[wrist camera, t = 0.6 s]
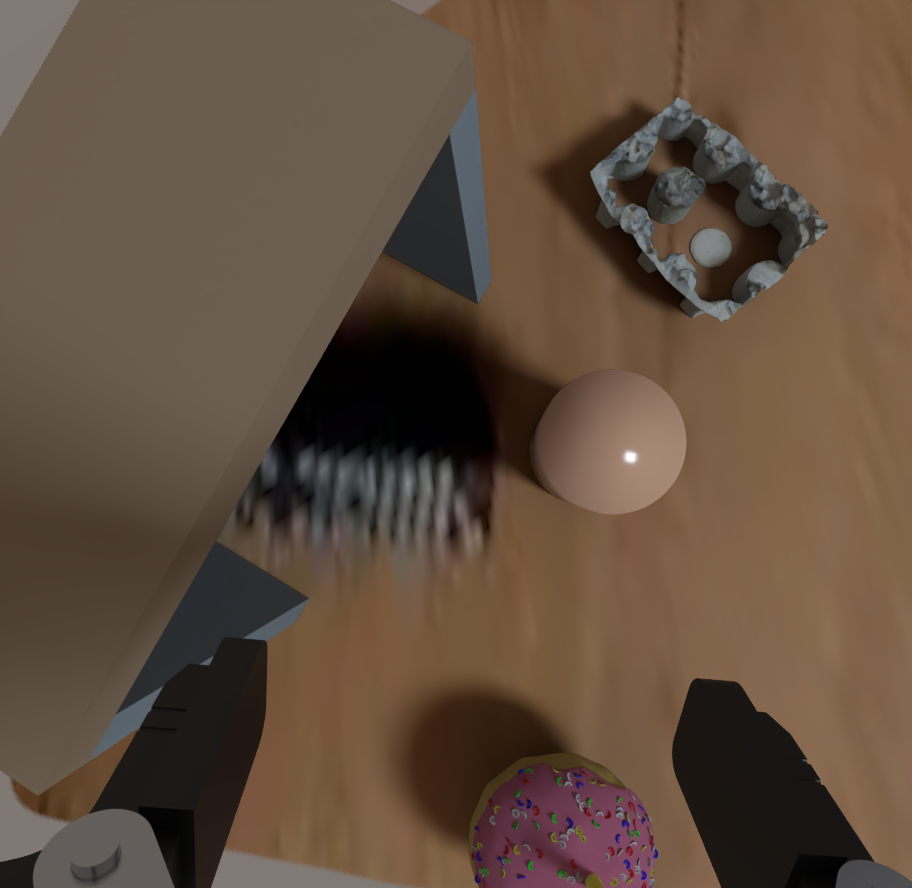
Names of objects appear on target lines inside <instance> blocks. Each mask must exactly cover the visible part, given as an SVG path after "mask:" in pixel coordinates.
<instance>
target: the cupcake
mask: <svg viewBox="0 0 912 888" xmlns="http://www.w3.org/2000/svg"><path fill="white" fill-rule="evenodd" d="M655 852H656V854H655ZM469 855H470V862H471V866H472V870H473V873H474V876H475V881H476V883H478V885H479V888H654V882H655V881H654V879H653V878H654V870H655V858H657V857H658V852H657V850H656V849H655V842H654V835H653V830H652V825H651V819H650V817H649V815H648V813H647V811H646V809H645V807H644V806H643V804H642V802H641V801H640V799H639V798H638V797H637V796H636V794H635V793H634V792H632V791H631V790H630V789H627V788H626V787H625V786H624V785H623V783H622V782H621V781H620V780H619V779H618V778H617V777H616V776H615V775H614V774H613V773H612V772H611V771H610V770H608V769H607V768H606V767H604V766H602V765H600V764H598V763H595V762H593V761H591V760H588V759H586V758H584V757H582V756H580V755H577V754H573V753H553V754H546V755H541V756H534V757H524V758H521V759H519V760H518V761H516V762H515V763H513V764H512V765H511V766H509V767H508V768H507V769H506V770H504V771H503V772H502V773H501V774H499V775H498V776H497V777H495V778H494V779H493V780H491V781H490V782H489V783H488V784H487V786H486V787H485V789H484V790H483V792H482V795H481V797H480V800H479V802H478V805H477V807H476V809H475V811H474V814H473V816H472V819H471V823H470V828H469Z"/></svg>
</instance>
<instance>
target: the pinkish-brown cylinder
mask: <svg viewBox="0 0 912 888" xmlns="http://www.w3.org/2000/svg"><path fill="white" fill-rule="evenodd" d="M685 453H686V431H685V427H684V422H683V419H682V417H681V414H680V412H679V410H678V408H677V406H676V404H675V403H674V402H673V400H672V399H671V397H670V396H669V395H668V394H667V393H666V392H665V391H664V390H663V389H662V388H661V387H660V386H658V385H657V384H656V383H654V382H653V381H651V380H650V379H648V378H646V377H644V376H642V375H640V374H637V373H633V372H630V371H625V370H616V369H608V370H599V371H594V372H590V373H588V374H585V375H582V376H580V377H578V378H576V379H574V380H573V381H571V382H570V383H568V384H567V385H566V386H565V387H563V388H562V389H561V390H560V391H559V392H558V393H557V394H556V396H555V397H554V398H553V399H552V401H551V402H550V404H549V405H548V407H547V409H546V411H545V413H544V414H543V416H542V418H541V420H540V422H539V424H538V425H537V427H536V429H535V431H534V433H533V436H532V439H531V443H530V450H529V456H530V463H531V467H532V470H533V473H534V475H535V477H536V479H537V480H538V482H539V483H540V484H541V485H542V487H543V488H544V489H545V490H546V491H548V492H549V493H550V494H552V495H553V496H555V497H557V498H559V499H561V500H563V501H566V502H569V503H571V504H574V505H576V506H579V507H582V508H584V509H587V510H590V511H593V512H598V513H603V514H623V513H628V512H633V511H636V510H639V509H642V508H644V507H646V506H648V505H650V504H652V503H653V502H655V501H656V500H658V499H659V498H660V497H661V496H662V495H663V494H665V493H666V492H667V490H668V489H669V488H670V487H671V486H672V484H673V483H674V481H675V480H676V478H677V477H678V475H679V473H680V470H681V468H682V465H683V462H684V458H685Z"/></svg>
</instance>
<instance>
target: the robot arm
mask: <svg viewBox="0 0 912 888" xmlns="http://www.w3.org/2000/svg"><path fill="white" fill-rule="evenodd" d="M266 689H267V642H266V640H256V639H244V638H233V637H224V638H223V639H222V641H221V643H220V645H219V647H218V649H217V651H216V653H215V655H214V657H213V659H212V661H211V663H210V665H199V664H188V665H187V666H185V667H184V668H183V669H182V670H180V671H179V672H178V673H177V674H176V675H174V676H173V677H172V678H171V679H169V680H168V681H167V682H166V683H165V684H164V686H163V688H162V689H161V691H160V693H159V695H158V696H157V698H156V700H155V702H154V703H153V705H152V708H151V711H149V712H148V714H147V715H146V717H145V719H144V721H143V722H142V724H141V726H140V730H139V731H137V733H136V734H135V736H134V738H133V740H132V741H131V743H130V745H129V747H128V748H127V750H126V752H125V754H124V755H123V757H122V759H121V761H120V762H119V764H118V766H117V767H116V769H115V771H114V773H113V774H112V776H111V778H110V780H109V781H108V783H107V785H106V787H105V788H104V790H103V792H102V793H101V795H100V797H99V799H98V800H97V802H96V804H95V806H94V807H93V809H92V810H91V812H90V813H89V814H88V815H85V816H83V817H81V818H79V819H77V820H75V821H73V822H72V823H70V824H69V825H67V826H66V827H64V828H63V829H62V830H60V831H59V832H58V833H57V834H56V835H55V836H54V837H53V838H52V839H51V840H50V841H49V842H48V843H47V845H46V846H45V847H44V848H43V850H41V851H38V852H36V853H33V854H31V855H28V856H24V857H21V858H17V859H12V860H8V861H3V862H0V888H211V886H212V883H213V880H214V877H215V874H216V871H217V868H218V865H219V862H220V859H221V856H222V853H223V850H224V847H225V844H226V841H227V838H228V835H229V832H230V829H231V827H232V824H233V821H234V818H235V815H236V812H237V809H238V806H239V803H240V800H241V797H242V794H243V791H244V788H245V785H246V782H247V779H248V776H249V773H250V770H251V767H252V764H253V761H254V758H255V755H256V752H257V749H258V746H259V743H260V740H261V736H262V732H263V727H264V721H265V713H266ZM672 759H673V767H674V771H675V775H676V778H677V780H678V783H679V785H680V788H681V790H682V793H683V795H684V797H685V800H686V802H687V805H688V807H689V810H690V812H691V815H692V817H693V819H694V822H695V824H696V827H697V829H698V832H699V834H700V837H701V839H702V841H703V844H704V846H705V849H706V851H707V854H708V856H709V859H710V861H711V863H712V866H713V868H714V871H715V873H716V876H717V878H718V880H719V883H720V885H721V888H912V882H911V881H910V880H909V879H907V878H906V877H905V876H903V875H901V874H900V873H898V872H896V871H895V870H893V869H891V868H889V867H887V866H884V865H882V864H879V863H876V862H874V860H873V859H872V857H871V856H870V854H869V853H868V851H867V850H866V848H865V847H864V845H863V844H862V842H861V841H860V839H859V837H858V836H857V834H856V833H855V831H854V830H853V828H852V827H851V825H850V824H849V822H848V821H847V819H846V818H845V816H844V815H843V813H842V812H841V810H840V809H839V807H838V806H837V804H836V803H835V801H834V800H833V798H832V796H831V795H830V793H829V792H828V790H827V789H826V787H825V786H824V785H821V783H820V778H819V777H818V775H817V774H816V772H815V771H814V769H813V768H812V766H811V765H810V764H807V758H806V757H805V755H804V754H803V752H802V751H801V749H800V748H799V746H798V745H797V743H796V742H795V740H794V739H793V737H792V736H791V734H790V733H788V732H787V731H786V730H785V729H784V728H783V727H782V726H781V725H779V724H778V723H777V722H776V721H775V720H774V719H773V718H772V717H771V716H769V715H768V714H767V713H766V712H757V710H756V709H755V707H754V706H753V704H752V702H751V701H750V699H749V698H748V696H747V694H746V693H745V691H744V690H743V688H742V687H741V685H740V684H739V683H737V682H734V681H724V680H712V679H700V678H697V679H694V680H693V681H692V683H691V685H690V687H689V690H688V693H687V697H686V700H685V703H684V707H683V710H682V713H681V717H680V720H679V723H678V727H677V730H676V733H675V737H674V741H673V748H672Z"/></svg>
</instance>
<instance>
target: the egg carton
mask: <svg viewBox="0 0 912 888" xmlns="http://www.w3.org/2000/svg"><path fill="white" fill-rule="evenodd" d="M658 137H659V138H661V139H664V140H667V141H676V140H679V139H681V138H684V137H686V138H687V139H689V140H690V141H691V142H692V143H694V145H695V146H696V148H697V149H698V150H697V151H696V153H695V155H694V158H693V170H694V172H695V174H696V175H695V174H694V173H693V172H692V171H690V170H689V169H688V168H687V167H672V168H669V169H667V170H665V171H663V172H662V173H661V174H660V175H659V176H658V177H657V180H656V182H655V184H654V186H653V188H652V190H651V192H650V195H649V197H648V201H647V210H648V212H647V211H646V210H645V209H644V208H642V207H640V206H637V205H635V204H634V203H633V204H630V205H624V206H622V207H617V206H616V205H615V200H616V193H615V192H614V191H613V190H611V189H607V186H608V182H607V179H609V178H611V179H612V178H616V179H617V180H621V181H633V180H635V179H637V178H639V177H640V176H641V175H642V174H643V173H644V171H645V169H646V167H647V165H648V163H649V160H650V158H651V155H652V154H653V153H654V151H655V149H654V146H655V144H656V143H657V138H658ZM590 173H591V177H592V180H593V182H594V184H595V187H596V189H597V191H598V193H599V195H600V197H601V199H602V200H601V202H600V205H599V208H598V211H597V213H596V219H597V220H598V221H599V222H600V223H601V224H602V225H603V226H604V227H605V228H606V229H608V228H611V227H613V226H616V225H621V228H622V229H623V230H624V231H625V232H627V233H631V234H632V235H634V237H635V239H636V241H637V243H638V245H639V246H640V248H641V249H642V252H641V254H640V256H639V257H638V259H637V262H638V263H639V264H640V265H641V266H642V267H643V268H644V269H645V270H646V271H647V272H648V273H651V272H654V271H657V270H659V271H660V272H661V274H662V275H663V276H664V277H665V279H666V280H667V281H668V282H669V283H670V284H671V285H673V286H674V287H675V288H676V289H677V290H678V291H680V292H681V293H682V294H683V295H684V296H685V297H684V299H683V301H682V302H681V303H680V307H681V308H682V309H683V310H684V311H685V312H686V313H687V314H688V315H689V316H690V317H692V318H694V317H695V316H697V315H699V314H702V313H709V314H710V315H712V316H714V317H716V318H718V319H719V320H720V321H721V322H723V321H725V320H727V319H728V318H730V317H731V316H732V315H733V314H734V313H735V312H736V311H737V310H738V309H739V308H740V307H743V306H744V305H746V304H747V303H748V302H749V301H751V300H752V299H753V298H754V297H755V296H756V295H757V294H758V293H759V291H760V290H761V289H764V290H766V289H768V288H769V287H770V286H772V285H773V284H774V283H776V282H777V281H778V280H779V279H781V278H782V277H783V276H784V275H785V272H786V270H787V268H788V267H789V265H790V264H791V263H792V262H793V260H795V259H796V258H797V257H798V256H799V255H801V254H802V253H803V252H804V251H805V250H806V249H808V248H809V247H810V246H812V245H813V244H814V243H815V242H816V241H817V240H818V239H819V238H820V237H821V236H822V235H824V234H825V232H826V229H827V228H828V225H827V223H826V221H825V220H823V219H822V218H820V217H819V216H818V211H817V210H816V209H815V208H814V207H813V206H812V205H811V204H809V203H808V202H807V201H806V200H805V198H804V197H803V195H802V194H800V193H799V192H797V191H796V190H795V189H794V188H792V187H791V186H790V185H789V184H785V185H782V184H781V183H780V182H778V181H777V179H776V178H775V177H774V175H773V174H772V173H771V172H770V170H769V168H768V167H767V166H766V165H765V164H764V163H760V162H758V161H757V160H756V159H755V158H754V157H753V156H752V155H751V154H750V153H749V152H748V151H747V150H746V149H745V148H744V147H743V146H742V144H741V143H740V142H739V140H738V139H737V138H736V137H735V136H733V135H731V134H730V133H728V132H727V131H725V130H724V129H722V128H721V127H719V126H718V125H716V124H713V123H711V122H710V121H709V120H708V119H707V118H705V117H703V116H701V115H697V114H695V113H693V112H692V109H691V105H690V104H689V103H688V102H687V101H686V100H685V99H681V98H679V97H678V98H677V99H675V100H674V101H673V102H672V103H671V104H670V106H668V107H667V108H666V109H665V110H664V111H663V112H661V113H660V114H659V115H657V116H654V117H653V118H652V119H651V120H650V121H649V122H648V123H647V124H646V125H644V126H643V127H642V128H641V129H639V130H638V131H637V132H635V133H634V134H633V135H632V136H630V137H629V138H628V139H627V140H626V141H624V142H623V143H622V144H620V145H619V146H618V147H617V148H616V149H615V150H613V151H612V152H611V154H610V155H609V156H608V157H607V158H605V159H604V160H602V161H601V162H600V163H598V165H597V166H596V167H595V168H594V169H593V170H592V171H591V172H590ZM723 181H727V182H728V183H729V184H730V185H732V186H734V187H735V188H736V189H738V190H739V191H740V194H739V195H738V197H737V199H736V202H735V209H736V214H737V216H738V218H739V219H740V220H741V221H742V222H744V223H745V224H747V225H749V226H753V227H759V226H765V225H767V224H769V223H770V224H772V225H773V226H774V227H775V228H776V229H777V230H778V231H779V232H780V233H781V235H782V239H781V241H780V243H779V247H778V254H779V257H780V260H781V262H782V264H783V265H781V264H780V263H779V262H775V261H771V260H765V261H761V262H759V263H756V264H753V265H752V266H751V267H750V268H748V269H747V270H746V271H745V272H744V273H743V274H742V275H741V276H739V277H738V279H737V280H736V281H735V283H734V285H733V288H732V297H733V300H734V302H732V301H731V300H720V301H715V302H706V301H703V300H701V299H700V298H699V297H698V295H697V294H696V292H695V291H694V288H695V285H696V282H697V276H698V274H697V272H696V271H695V268H694V267H693V265H692V264H691V263H690V262H689V261H688V260H687V259H686V258H685V253H681V254H674V253H672V254H669V255H668V256H666V257H664V258H663V259H661V260H660V261H659V260H658V259H657V250H655V249H654V248H653V247H652V243H653V241H652V240H651V235H652V233H653V232H654V223H652V222H651V221H650V219H649V216H648V213H649V215H650V216H651V217H652V218H653V219H654V220H655V221H657V222H659V223H663V224H675V223H677V222H679V221H681V220H682V219H683V218H684V217H685V215H686V214H687V213H688V211H689V210H690V209H691V207H692V206H693V204H694V203H695V201H696V200H697V199H698V198H699V196H700V195H701V193H702V192H703V190H704V189H705V186H706V184H705V182H707V183H711V184H714V183H720V182H723ZM647 245H650V246H651V249H647ZM731 250H732V247H731V241H730V239H729V237H728V236H727V234H725V233H724V232H723V231H720V230H719V229H716V228H705V229H702V230H700V231H698V232H697V233H696V234H695V235H694V236H693V238H692V240H691V243H690V252H691V255H692V258H693V259H694V261H695V262H696V263H698V264H699V265H701V266H703V267H707V268H716V267H719V266H721V265H723V264H724V263H725V262H726V261H727V260H728V259H729V255H730V254H731Z"/></svg>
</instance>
